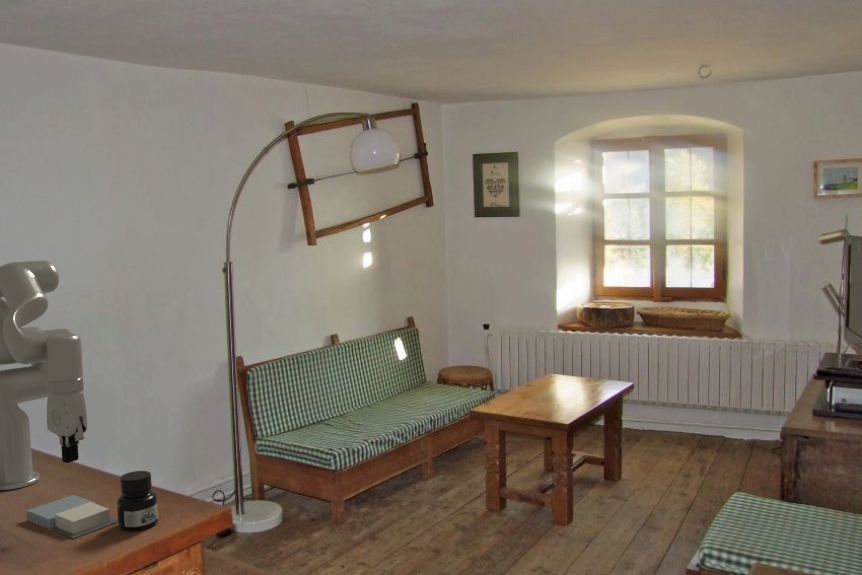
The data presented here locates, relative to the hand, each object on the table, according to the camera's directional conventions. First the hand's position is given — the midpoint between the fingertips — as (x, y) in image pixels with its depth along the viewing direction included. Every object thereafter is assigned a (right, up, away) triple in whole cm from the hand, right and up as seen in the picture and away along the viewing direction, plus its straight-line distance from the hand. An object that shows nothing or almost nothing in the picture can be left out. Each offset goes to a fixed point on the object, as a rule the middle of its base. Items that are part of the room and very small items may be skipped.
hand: (70, 460), depth 184 cm
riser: (-4, -15, +4) cm, 16 cm away
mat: (+4, -15, -1) cm, 16 cm away
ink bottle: (+17, -15, -1) cm, 23 cm away
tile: (+3, -13, -1) cm, 14 cm away
